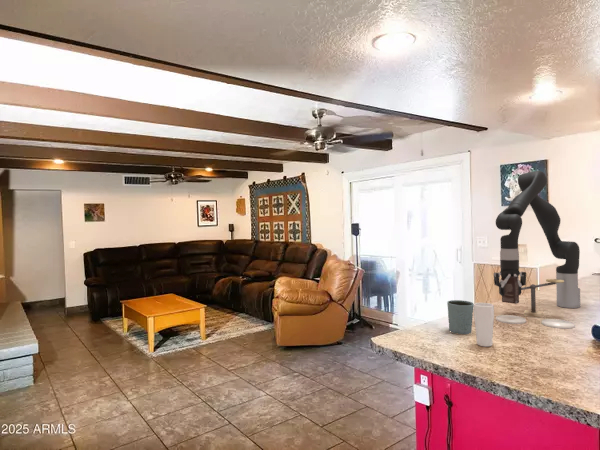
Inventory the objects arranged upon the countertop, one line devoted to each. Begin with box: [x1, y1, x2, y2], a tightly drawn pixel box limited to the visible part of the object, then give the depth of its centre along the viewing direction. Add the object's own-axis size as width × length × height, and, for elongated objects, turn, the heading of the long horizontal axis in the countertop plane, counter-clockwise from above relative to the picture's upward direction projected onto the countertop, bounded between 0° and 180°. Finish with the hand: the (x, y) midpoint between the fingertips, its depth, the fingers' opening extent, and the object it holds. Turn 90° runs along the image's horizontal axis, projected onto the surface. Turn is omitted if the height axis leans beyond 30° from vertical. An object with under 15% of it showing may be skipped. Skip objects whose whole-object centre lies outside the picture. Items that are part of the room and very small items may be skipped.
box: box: [500, 275, 520, 305], centre depth 179 cm, size 6×4×12 cm
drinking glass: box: [473, 302, 495, 348], centre depth 146 cm, size 7×7×15 cm
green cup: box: [446, 299, 475, 335], centre depth 164 cm, size 10×10×12 cm
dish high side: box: [541, 318, 576, 329], centre depth 170 cm, size 12×12×1 cm
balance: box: [521, 278, 564, 319], centre depth 187 cm, size 24×7×17 cm, turn 60°
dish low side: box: [495, 314, 527, 325], centre depth 179 cm, size 12×12×1 cm
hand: (510, 295), depth 179 cm, fingers closed on box, 6 cm apart
